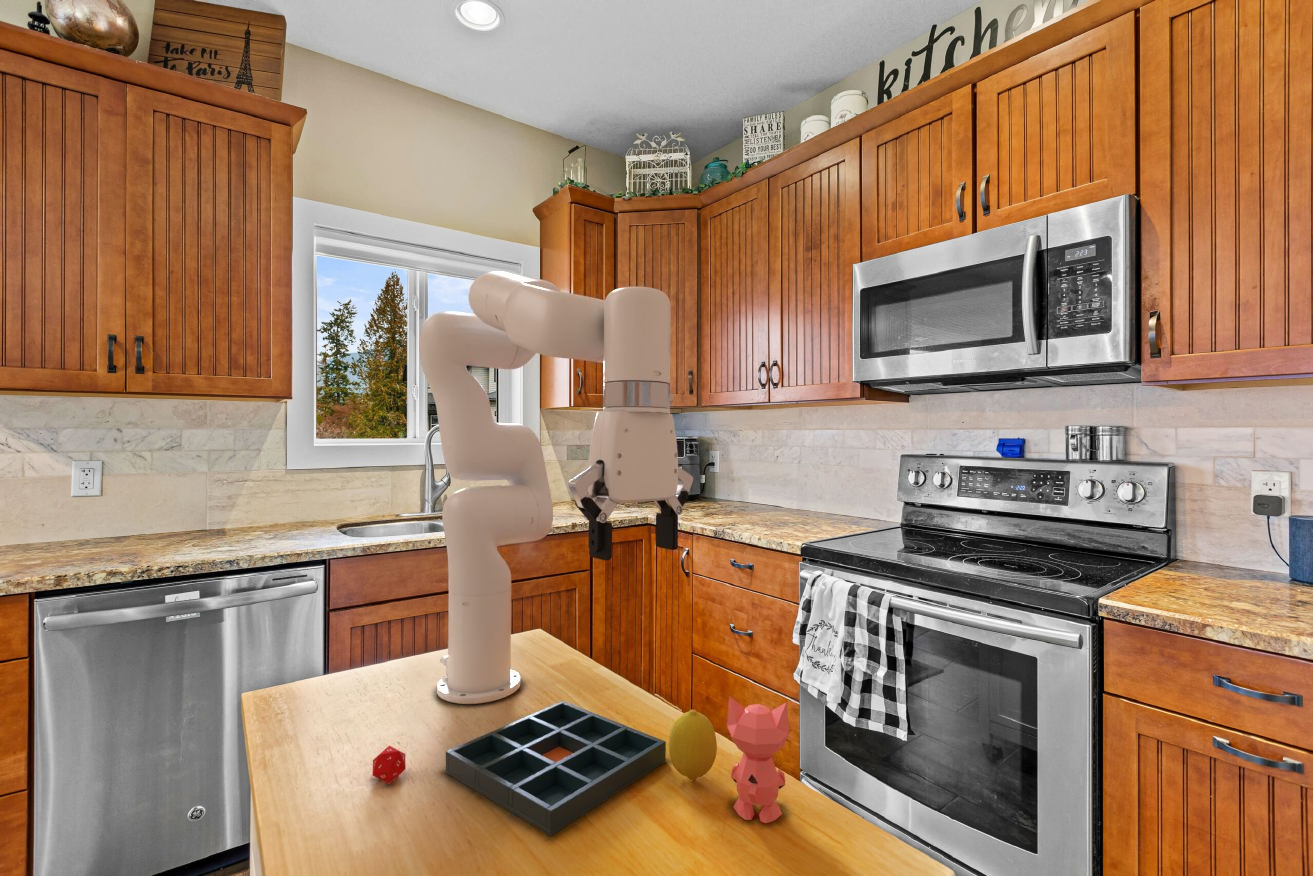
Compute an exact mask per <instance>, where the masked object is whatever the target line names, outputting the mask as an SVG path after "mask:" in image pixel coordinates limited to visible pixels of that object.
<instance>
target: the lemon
mask: <svg viewBox="0 0 1313 876" xmlns="http://www.w3.org/2000/svg"><path fill="white" fill-rule="evenodd" d="M668 737H669V738H668V753H669V754H668V755H669V758H670V762H671V764H672V766H673V768H674V769H675V770H676V771H677V772H678V773H679V774H680V775H682V776H683V777H686V778H687V779H689V780H690V781H691V782H692V781H696V780H697V779H698V778H701V777H703V776H705V775H706V774H707V773H708V772H710V770H711V769H712V767H713V765H714V764H715V760H716V758H717V753H718V752H717V751H718V743H717V736H716V732H715V728H714V725H713V724H712V722H711V720H710V719H709V718H708V717H707V716H706V715H705V714H702V712H699V711H697V710H696V709H690V710H689V711H686V712H683V713H682V714H680V715H679V716H678V717H677V718H676V719H675V720H674V722H673V724H672V726H671V729H670V731H669V736H668Z"/></svg>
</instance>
